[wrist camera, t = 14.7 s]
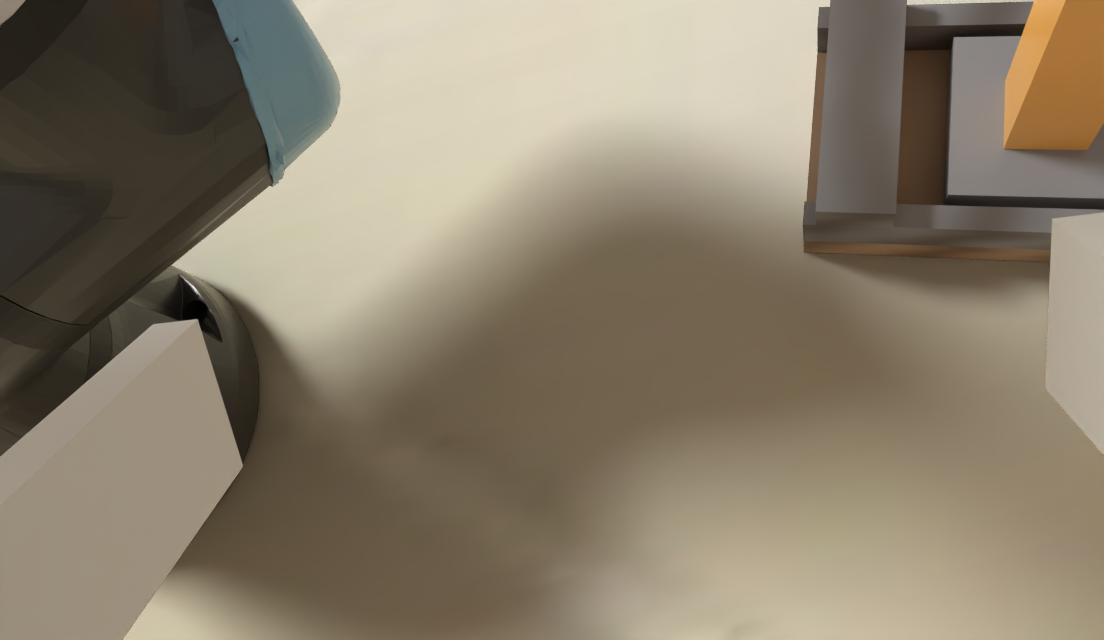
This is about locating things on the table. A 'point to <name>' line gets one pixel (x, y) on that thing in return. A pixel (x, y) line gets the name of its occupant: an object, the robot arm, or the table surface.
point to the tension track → (903, 137)
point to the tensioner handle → (1029, 113)
